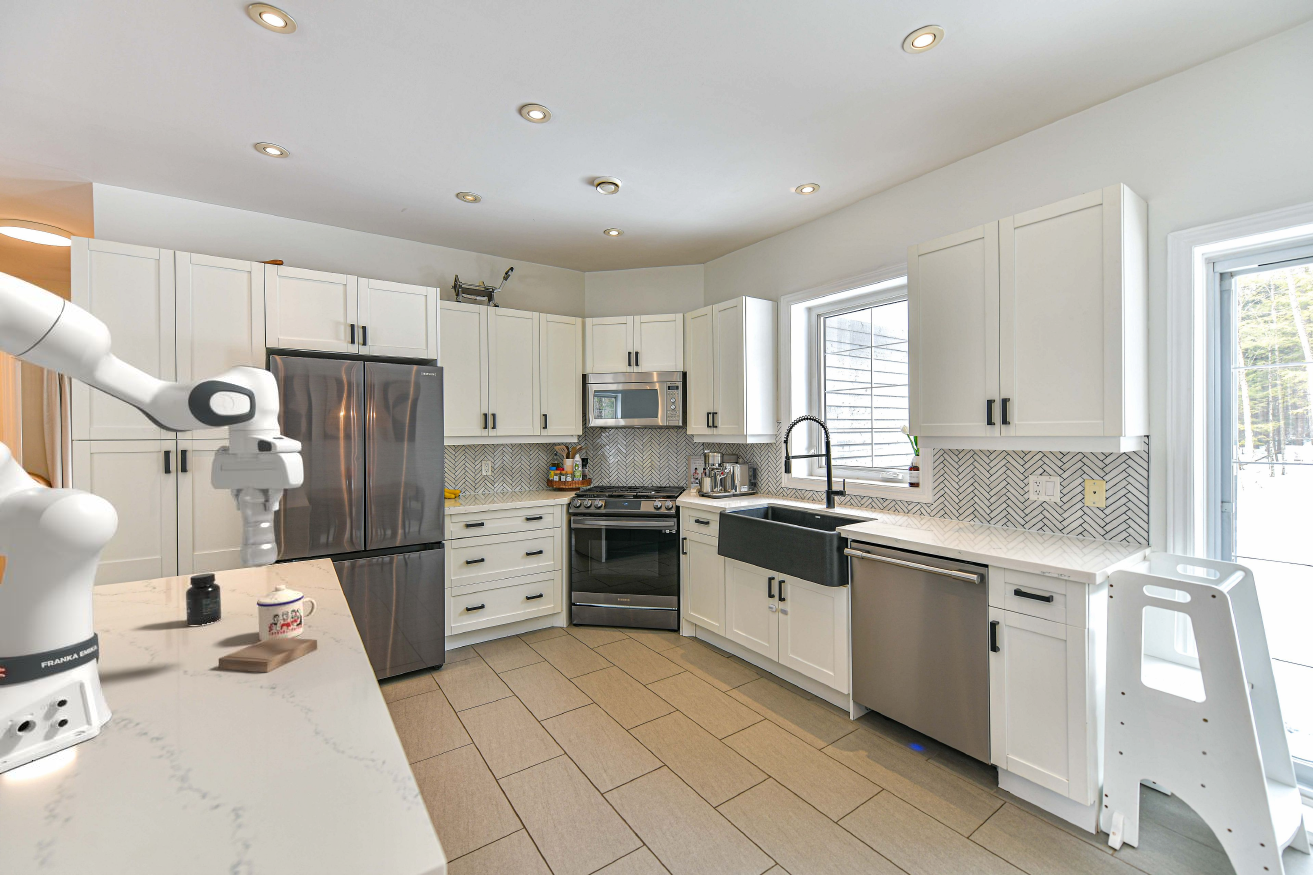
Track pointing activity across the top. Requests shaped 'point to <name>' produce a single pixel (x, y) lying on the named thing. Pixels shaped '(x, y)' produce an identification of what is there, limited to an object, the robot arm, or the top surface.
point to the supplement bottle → (203, 600)
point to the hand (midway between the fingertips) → (257, 510)
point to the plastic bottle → (257, 528)
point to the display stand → (267, 654)
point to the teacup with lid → (282, 613)
